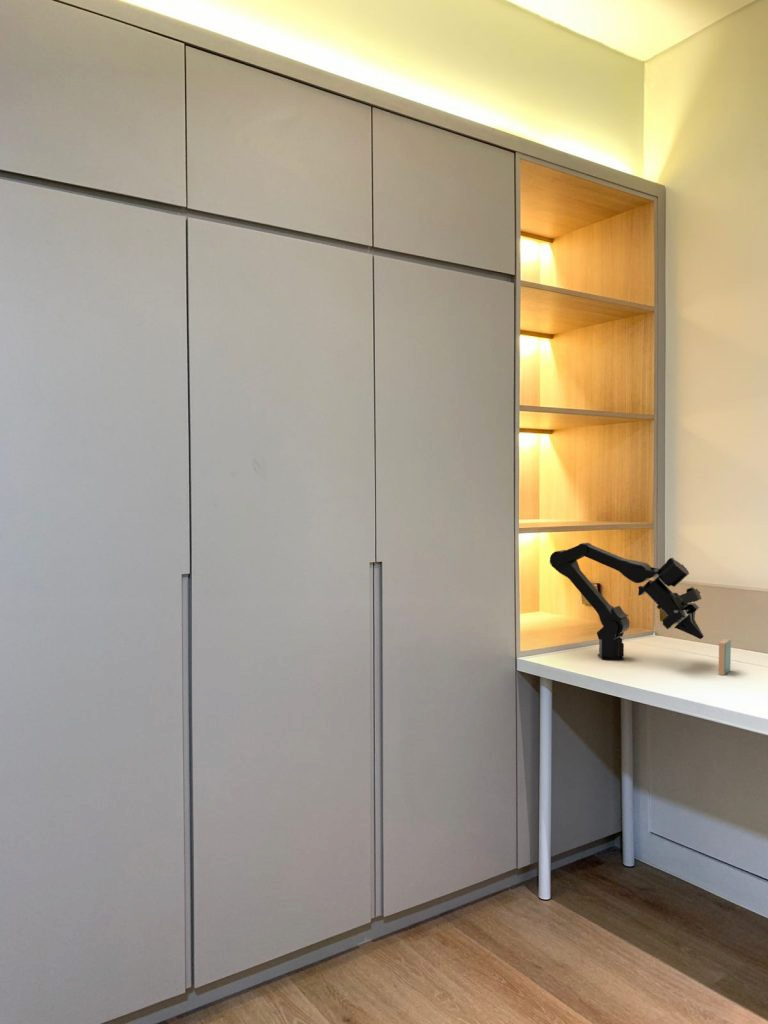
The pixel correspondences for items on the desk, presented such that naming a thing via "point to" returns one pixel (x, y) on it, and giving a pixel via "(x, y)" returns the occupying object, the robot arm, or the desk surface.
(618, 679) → the desk surface
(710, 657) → the desk surface
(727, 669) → the glazed tile
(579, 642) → the desk surface
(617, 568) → the robot arm
